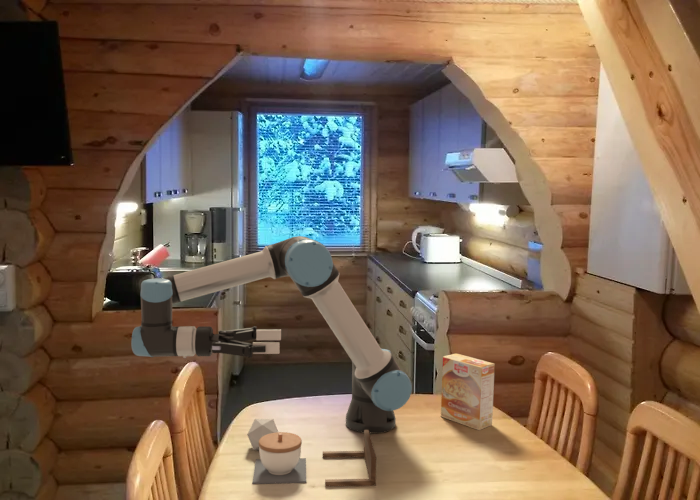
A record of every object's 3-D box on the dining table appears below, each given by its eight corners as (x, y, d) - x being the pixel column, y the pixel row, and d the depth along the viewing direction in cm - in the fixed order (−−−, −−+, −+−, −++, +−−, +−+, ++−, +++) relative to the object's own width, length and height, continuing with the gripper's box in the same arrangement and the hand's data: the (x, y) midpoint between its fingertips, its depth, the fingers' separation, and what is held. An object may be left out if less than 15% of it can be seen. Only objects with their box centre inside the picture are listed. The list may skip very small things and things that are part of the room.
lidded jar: (283, 457, 167) (284, 422, 167) (310, 470, 160) (310, 434, 159) (250, 469, 160) (250, 433, 159) (276, 483, 152) (276, 446, 151)
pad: (305, 459, 167) (305, 458, 167) (306, 482, 154) (306, 481, 154) (256, 460, 166) (256, 459, 166) (252, 483, 153) (252, 482, 153)
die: (264, 459, 168) (285, 427, 170) (238, 441, 169) (258, 410, 171) (268, 457, 176) (287, 427, 178) (242, 440, 177) (262, 410, 179)
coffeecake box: (439, 416, 200) (441, 356, 198) (454, 411, 205) (456, 352, 203) (478, 431, 189) (481, 367, 187) (493, 425, 194) (495, 362, 192)
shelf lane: (367, 455, 171) (368, 429, 170) (375, 485, 153) (376, 457, 153) (322, 455, 170) (322, 430, 169) (325, 486, 152) (325, 458, 152)
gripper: (203, 343, 174) (281, 343, 175) (187, 370, 149) (278, 369, 151) (203, 316, 173) (281, 316, 175) (187, 338, 148) (278, 338, 150)
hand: (280, 341), depth 163 cm, fingers open, 13 cm apart
